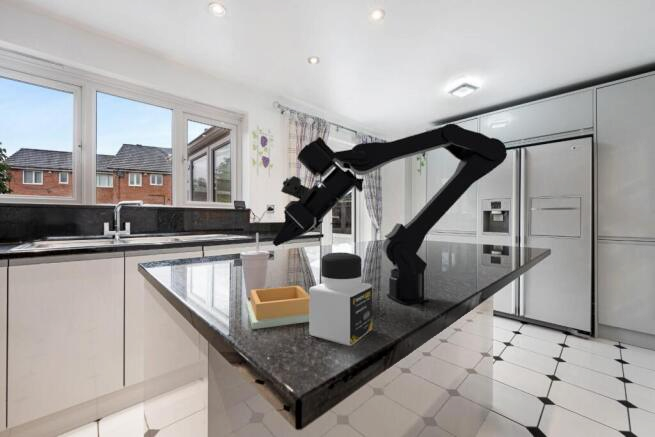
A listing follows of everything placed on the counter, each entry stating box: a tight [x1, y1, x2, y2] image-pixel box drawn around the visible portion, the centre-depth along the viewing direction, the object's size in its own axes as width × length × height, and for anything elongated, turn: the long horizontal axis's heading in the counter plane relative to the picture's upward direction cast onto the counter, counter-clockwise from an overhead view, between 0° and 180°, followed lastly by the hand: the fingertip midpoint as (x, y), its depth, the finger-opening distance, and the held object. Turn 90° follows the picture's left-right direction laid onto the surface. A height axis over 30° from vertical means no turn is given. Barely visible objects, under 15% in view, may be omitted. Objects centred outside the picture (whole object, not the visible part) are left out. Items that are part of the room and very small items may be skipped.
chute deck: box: [245, 285, 309, 330], centre depth 53 cm, size 20×12×4 cm, turn 111°
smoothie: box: [239, 232, 270, 299], centre depth 63 cm, size 6×6×14 cm
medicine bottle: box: [308, 251, 373, 347], centre depth 43 cm, size 7×7×12 cm
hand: (279, 242), depth 63 cm, fingers open, 9 cm apart
